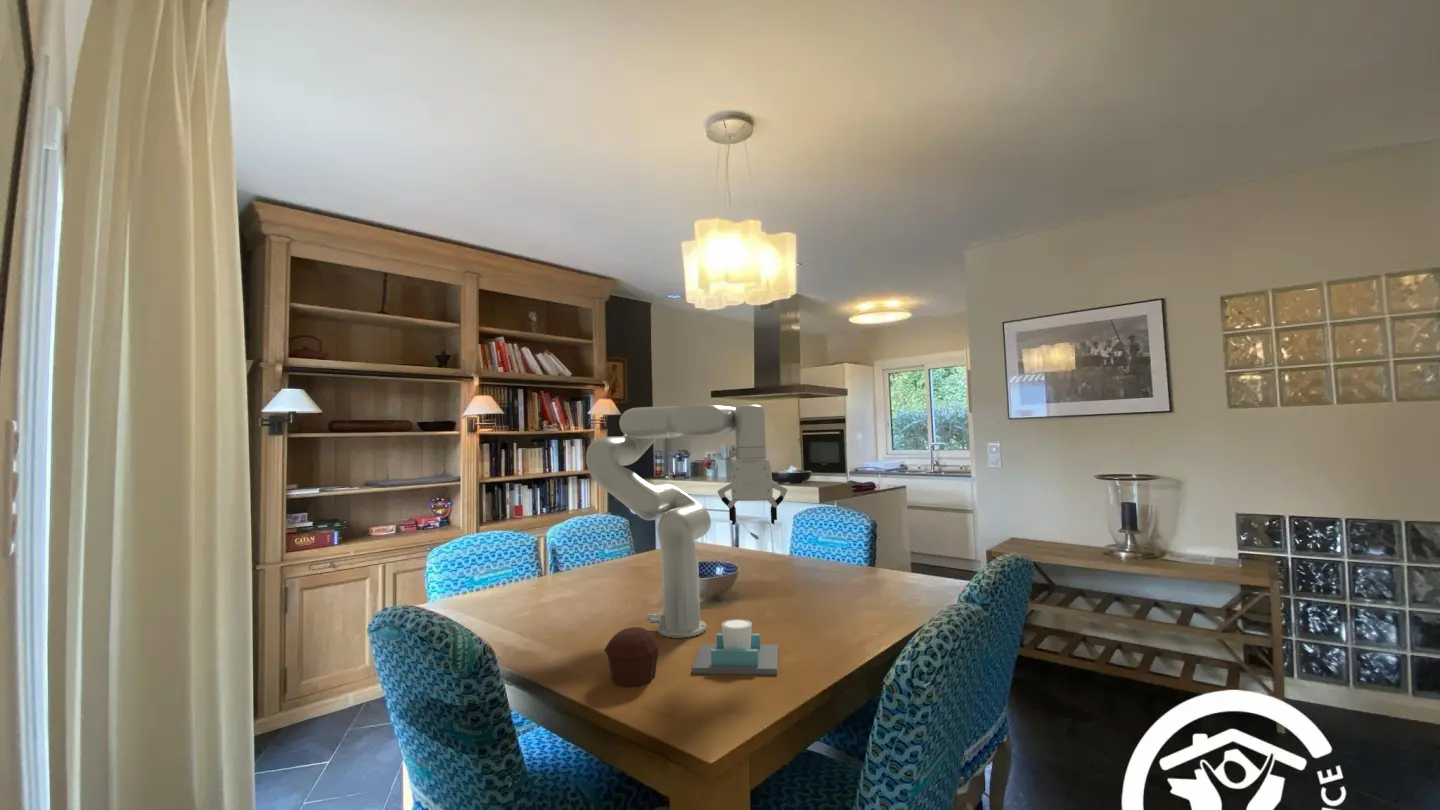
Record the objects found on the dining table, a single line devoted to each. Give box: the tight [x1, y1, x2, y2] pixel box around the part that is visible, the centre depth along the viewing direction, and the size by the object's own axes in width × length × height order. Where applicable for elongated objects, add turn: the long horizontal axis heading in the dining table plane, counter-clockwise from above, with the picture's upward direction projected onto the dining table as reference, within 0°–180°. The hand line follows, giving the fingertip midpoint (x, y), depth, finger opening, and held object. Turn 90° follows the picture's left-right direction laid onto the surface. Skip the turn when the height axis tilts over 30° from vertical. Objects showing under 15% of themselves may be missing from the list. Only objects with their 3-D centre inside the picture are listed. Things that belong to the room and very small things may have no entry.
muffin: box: [604, 626, 661, 689], centre depth 121 cm, size 12×11×10 cm
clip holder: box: [691, 632, 779, 676], centre depth 129 cm, size 18×14×4 cm
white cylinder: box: [720, 618, 753, 649], centre depth 129 cm, size 7×7×7 cm
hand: (753, 523), depth 143 cm, fingers open, 9 cm apart
